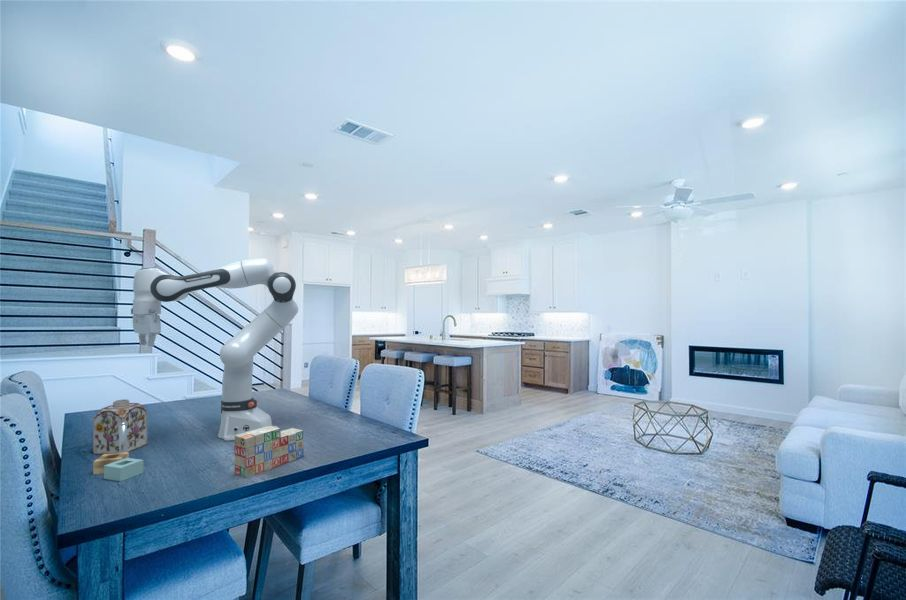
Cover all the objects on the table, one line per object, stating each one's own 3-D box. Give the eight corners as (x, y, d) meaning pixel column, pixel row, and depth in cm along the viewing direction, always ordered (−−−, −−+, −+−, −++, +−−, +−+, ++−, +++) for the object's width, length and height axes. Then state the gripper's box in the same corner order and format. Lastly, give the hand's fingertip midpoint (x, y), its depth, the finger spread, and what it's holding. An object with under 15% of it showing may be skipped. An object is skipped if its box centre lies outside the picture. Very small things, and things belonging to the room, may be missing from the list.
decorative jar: (119, 443, 164) (119, 396, 165) (148, 444, 164) (148, 397, 164) (91, 454, 152) (91, 404, 153) (122, 455, 152) (122, 404, 152)
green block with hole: (143, 472, 135) (143, 459, 135) (120, 481, 129) (120, 468, 129) (127, 470, 137) (127, 457, 138) (103, 478, 131) (103, 465, 131)
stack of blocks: (292, 453, 152) (292, 419, 152) (304, 457, 149) (303, 421, 149) (234, 474, 134) (234, 434, 134) (245, 478, 131) (245, 438, 131)
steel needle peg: (128, 459, 148) (128, 421, 148) (124, 461, 146) (124, 422, 146) (121, 459, 148) (122, 421, 148) (117, 461, 145) (117, 423, 146)
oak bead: (128, 463, 143) (128, 451, 143) (119, 471, 136) (119, 459, 136) (103, 466, 141) (103, 454, 141) (93, 474, 134) (93, 461, 134)
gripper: (165, 309, 160) (165, 346, 160) (148, 309, 173) (148, 343, 173) (145, 310, 155) (145, 348, 155) (129, 309, 168) (129, 344, 168)
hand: (146, 345), depth 164 cm, fingers open, 8 cm apart
